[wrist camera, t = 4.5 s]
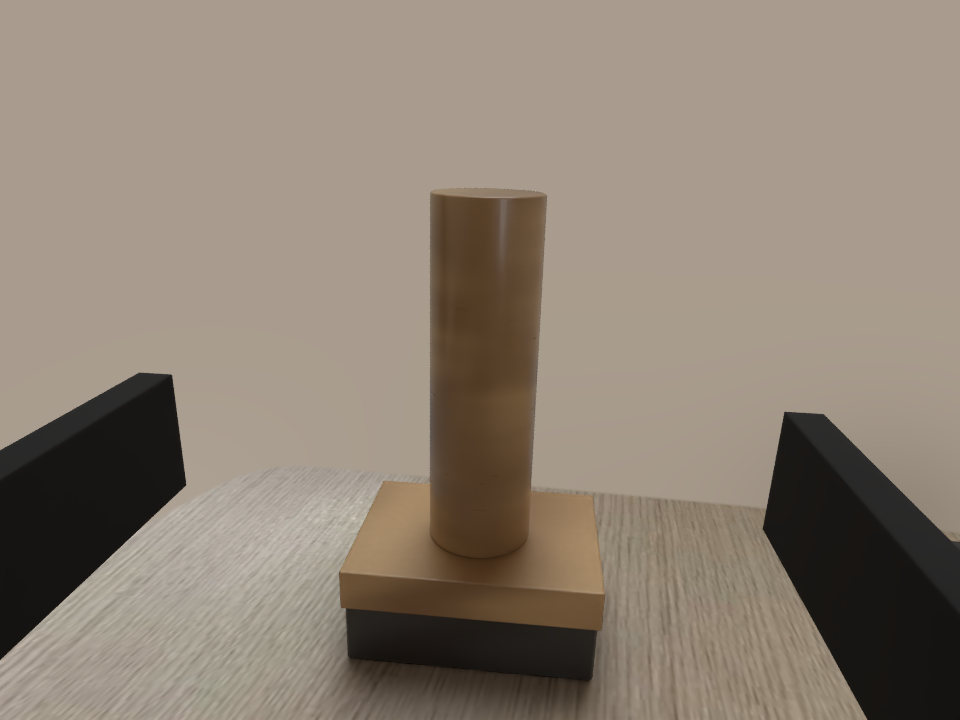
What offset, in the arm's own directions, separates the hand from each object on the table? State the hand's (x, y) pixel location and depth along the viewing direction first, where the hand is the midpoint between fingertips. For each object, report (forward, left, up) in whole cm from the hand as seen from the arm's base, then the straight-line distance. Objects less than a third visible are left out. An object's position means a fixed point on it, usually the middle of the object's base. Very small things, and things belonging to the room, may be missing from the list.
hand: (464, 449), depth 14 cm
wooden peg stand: (-2, +4, -8) cm, 9 cm away
